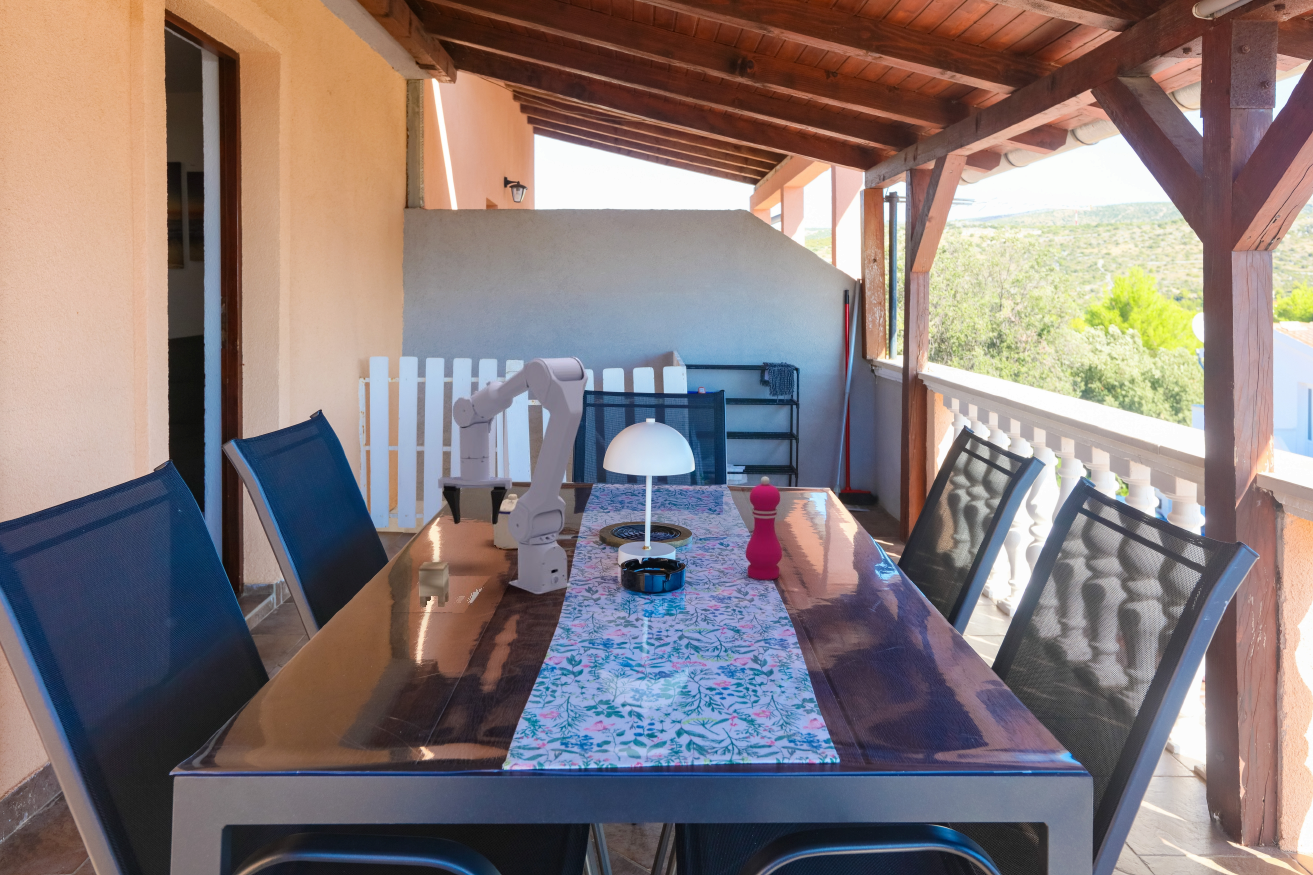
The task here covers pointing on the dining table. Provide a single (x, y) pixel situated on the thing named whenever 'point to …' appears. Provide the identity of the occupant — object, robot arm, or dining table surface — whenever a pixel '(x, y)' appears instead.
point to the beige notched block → (434, 582)
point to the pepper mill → (764, 533)
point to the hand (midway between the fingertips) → (476, 523)
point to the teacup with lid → (505, 524)
